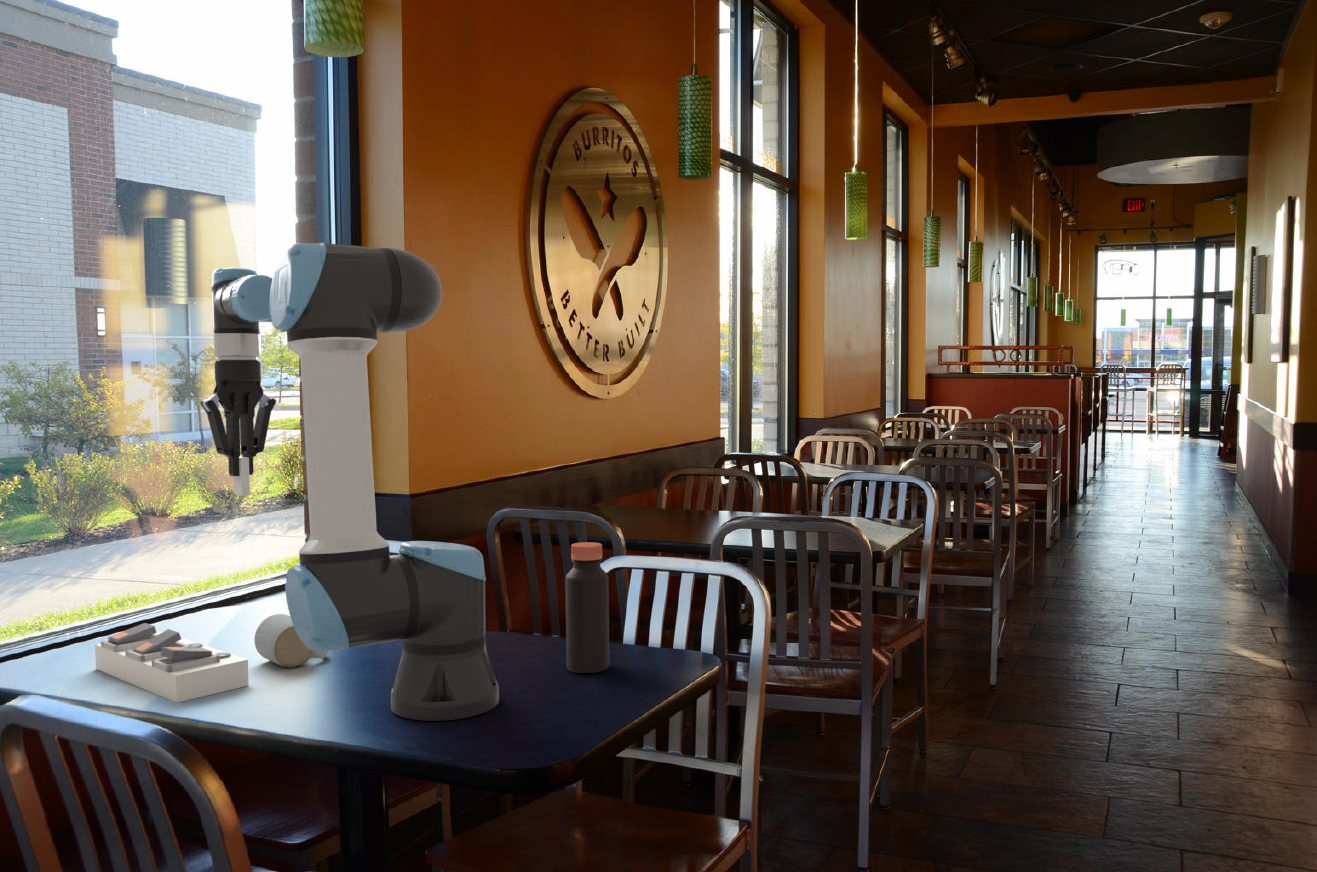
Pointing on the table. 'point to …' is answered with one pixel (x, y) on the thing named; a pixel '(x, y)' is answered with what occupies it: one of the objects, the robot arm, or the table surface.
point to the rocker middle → (158, 642)
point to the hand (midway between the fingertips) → (241, 494)
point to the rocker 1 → (132, 634)
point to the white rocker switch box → (173, 670)
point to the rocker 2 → (185, 652)
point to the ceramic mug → (282, 642)
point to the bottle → (587, 610)
